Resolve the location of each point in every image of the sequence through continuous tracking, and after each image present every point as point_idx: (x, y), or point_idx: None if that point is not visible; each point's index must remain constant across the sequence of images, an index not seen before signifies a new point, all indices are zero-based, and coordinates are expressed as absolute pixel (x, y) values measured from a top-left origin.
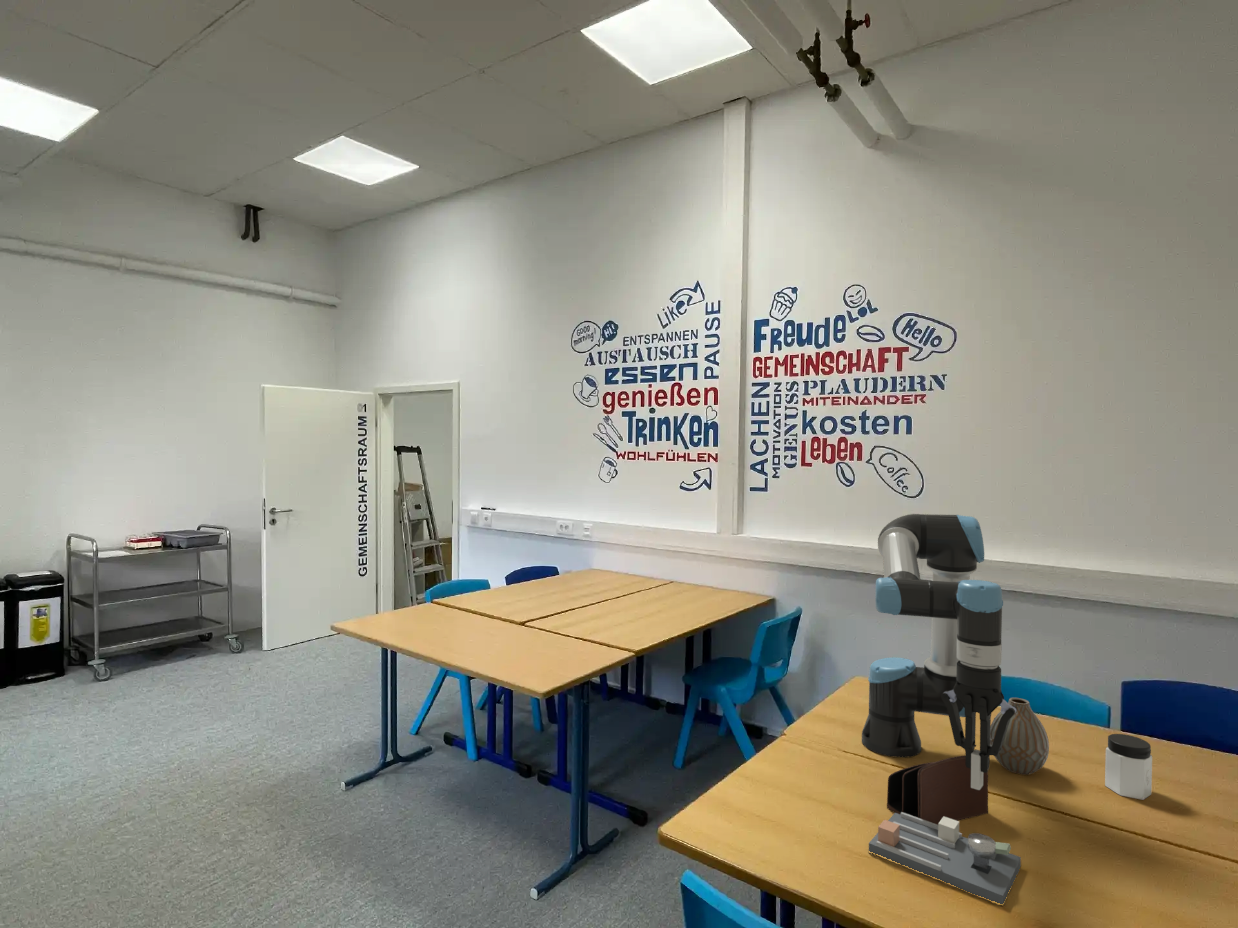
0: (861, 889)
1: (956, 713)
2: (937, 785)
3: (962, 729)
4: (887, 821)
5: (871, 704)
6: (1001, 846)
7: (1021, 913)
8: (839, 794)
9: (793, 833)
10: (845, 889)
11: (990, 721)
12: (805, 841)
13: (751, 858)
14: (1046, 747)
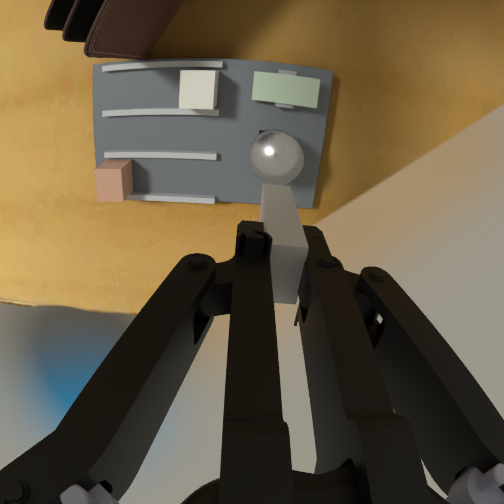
0: (139, 273)
1: (146, 424)
2: (141, 4)
3: (193, 306)
4: (100, 172)
5: None
6: (305, 94)
7: (333, 201)
8: (10, 60)
9: (23, 215)
10: (126, 283)
11: (386, 392)
12: (41, 221)
13: (35, 288)
14: None
